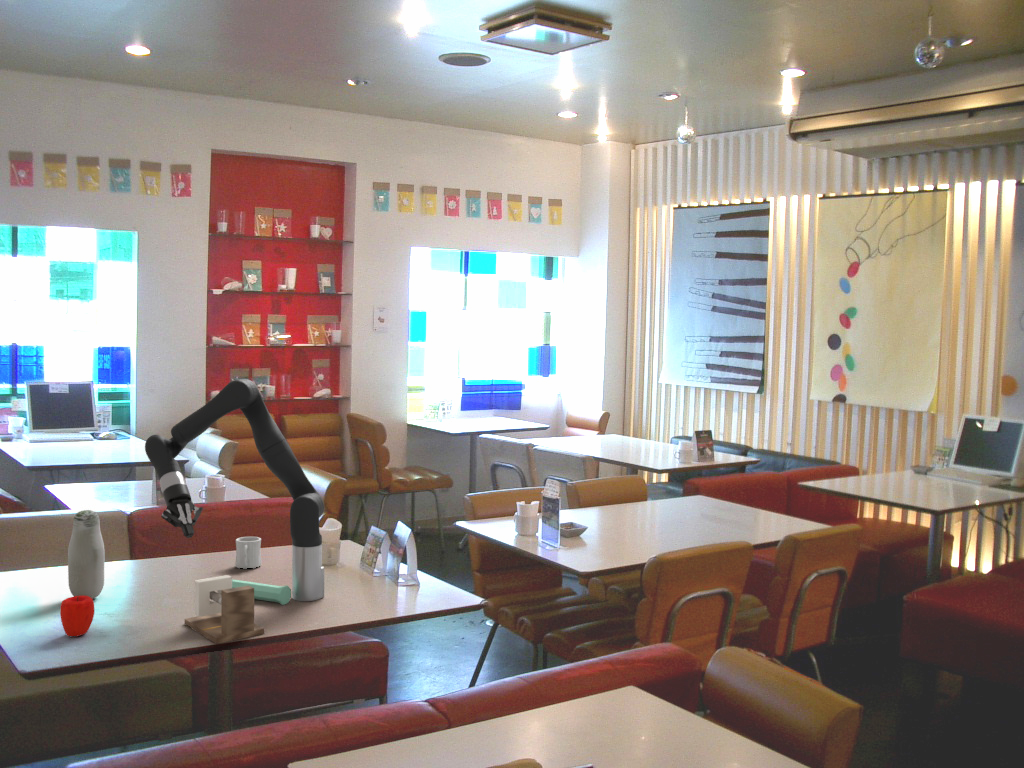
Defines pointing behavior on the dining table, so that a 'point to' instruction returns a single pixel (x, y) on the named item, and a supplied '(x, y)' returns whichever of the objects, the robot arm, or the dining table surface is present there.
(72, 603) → the apple
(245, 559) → the mug
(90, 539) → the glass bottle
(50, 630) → the dining table surface
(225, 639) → the rod rig
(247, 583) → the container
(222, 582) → the white square block
